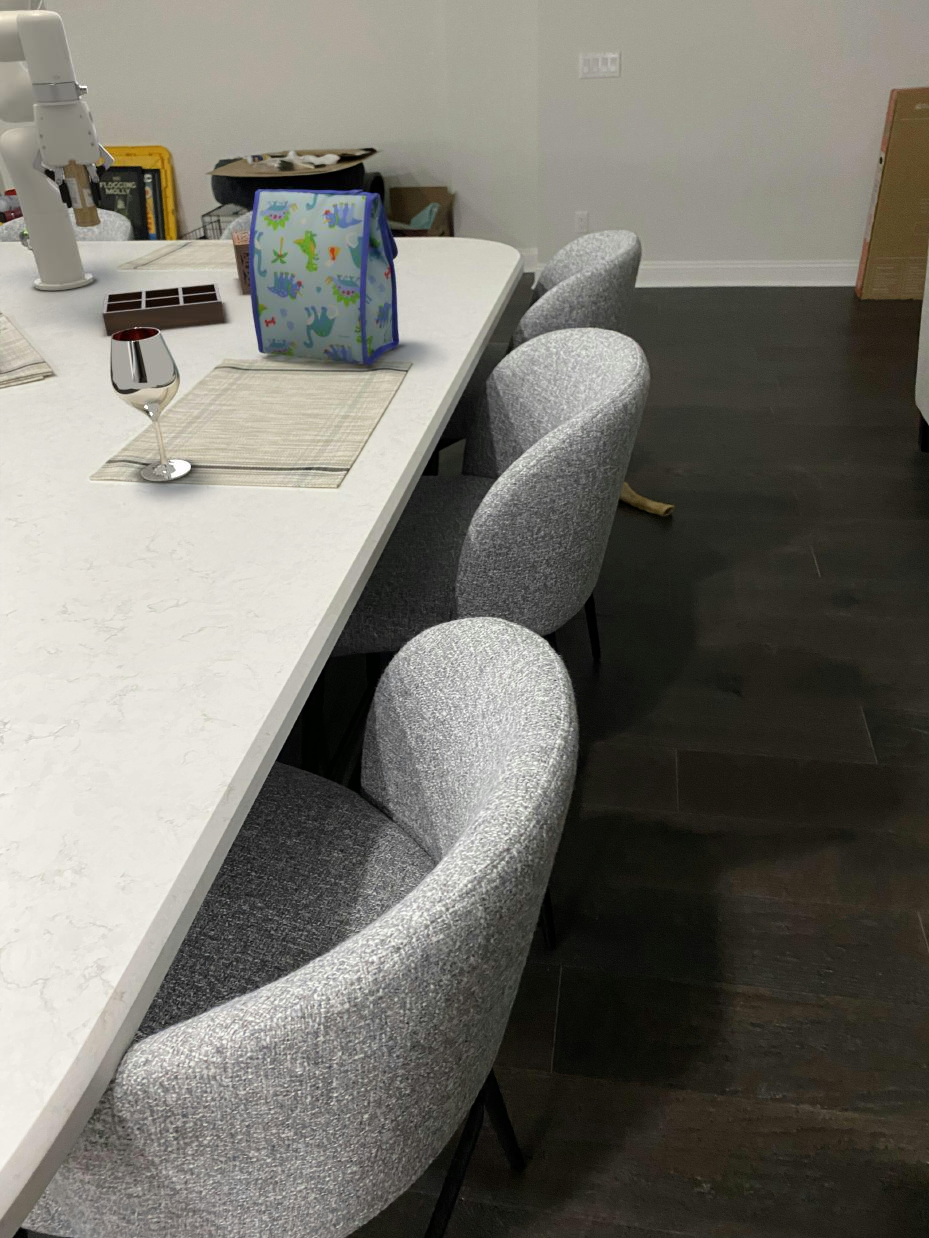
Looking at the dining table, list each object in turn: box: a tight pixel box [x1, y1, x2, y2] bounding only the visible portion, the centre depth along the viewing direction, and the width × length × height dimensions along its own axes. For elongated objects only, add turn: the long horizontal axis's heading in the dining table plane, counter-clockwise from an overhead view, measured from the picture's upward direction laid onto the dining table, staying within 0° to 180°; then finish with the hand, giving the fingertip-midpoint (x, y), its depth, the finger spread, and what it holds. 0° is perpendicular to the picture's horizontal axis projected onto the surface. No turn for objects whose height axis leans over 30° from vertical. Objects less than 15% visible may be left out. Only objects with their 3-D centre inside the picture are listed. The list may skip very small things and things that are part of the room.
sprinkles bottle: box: [62, 153, 101, 228], centre depth 172 cm, size 5×5×14 cm
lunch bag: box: [249, 188, 400, 366], centre depth 155 cm, size 22×17×26 cm
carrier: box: [101, 282, 226, 336], centre depth 182 cm, size 15×22×4 cm
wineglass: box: [109, 328, 192, 482], centre depth 117 cm, size 8×8×18 cm
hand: (83, 205), depth 173 cm, fingers closed on sprinkles bottle, 4 cm apart
